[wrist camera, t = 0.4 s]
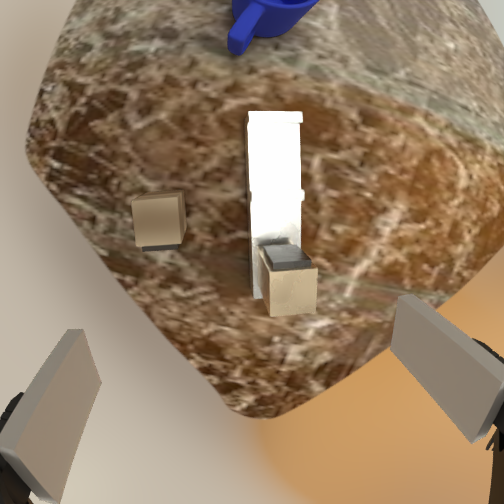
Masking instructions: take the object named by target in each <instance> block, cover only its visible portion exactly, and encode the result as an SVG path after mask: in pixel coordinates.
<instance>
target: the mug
mask: <svg viewBox="0 0 504 504" xmlns="http://www.w3.org/2000/svg"><path fill="white" fill-rule="evenodd" d="M318 1H319V0H232V11H233V16H234V18H235V20H236V22H235V24H234V25H233V27H232V28H231V30H230V31H229V33H228V50H229V51H230V52H231V53H233V54H235V55H238V56H240V55H242V54H243V53H244V51H245V50H246V48H247V47H248V45H249V43H250V42H251V40H252V38H253V36H254V35H255V36H259V37H275V36H278V35H281V34H283V33H285V32H287V31H288V30H289V29H291V28H292V27H293V26H294V25H295V24H296V23H297V22H298V21H299V20H300V19H301V18H302V17H303V16H304V15H305V14H306V13H307V12H308V11H309V10H310V9H311V8H312V7H313V6H314V5H315V4H316V3H317V2H318Z"/></svg>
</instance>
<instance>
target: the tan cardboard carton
mask: <svg viewBox="0 0 504 504" xmlns="http://www.w3.org/2000/svg"><path fill="white" fill-rule="evenodd" d="M131 204H132V214H133V224H134V232H135V241H136V247H142V251H143V252H145V251H159V250H173V249H178V247H179V244H181V243H182V240H183V237H184V234H185V231H186V228H187V222H186V208H185V193H184V189H181V190H169V191H157V192H147V193H145V194H143V195H141V196H139V197H138V198H136V199H134V200H132V201H131Z"/></svg>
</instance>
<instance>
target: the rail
mask: <svg viewBox="0 0 504 504" xmlns="http://www.w3.org/2000/svg"><path fill="white" fill-rule="evenodd" d="M302 122H303V118H302V112H283V111H249V112H248V113H247V117H246V118H245V119H244V129H245V158H246V186H247V214H248V241H249V268H250V289H251V292H252V295H253V298H254V299H259V298H263V300H264V302H265V305H266V308H267V310H268V313H269V315H270V317H275V316H285V315H294V314H303V313H312V312H316V298H317V276H318V268H317V267H316V266H315V265H314V264H313V263H312V262H311V259H310V258H309V257H308V256H307V255H306V254H305V253H304V252H303V251H302V250H301V201H304V190H302V189H301V174H300V132H299V123H302Z"/></svg>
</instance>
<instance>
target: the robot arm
mask: <svg viewBox="0 0 504 504" xmlns="http://www.w3.org/2000/svg"><path fill="white" fill-rule="evenodd" d="M390 350H391V351H392V352H393V353H394V354H395V356H396V357H397V358H398V359H399V360H400V361H401V362H402V364H403V365H404V366H405V367H406V368H407V369H408V370H409V371H410V373H411V374H412V375H413V376H414V377H415V378H416V379H417V380H418V382H419V383H420V384H421V385H422V386H423V387H424V389H425V390H426V391H427V392H428V393H429V394H430V396H431V397H432V398H433V399H434V400H435V401H436V403H437V404H438V405H439V406H440V407H441V408H442V410H443V411H444V412H445V413H446V414H447V415H448V417H449V418H450V419H451V420H452V421H453V423H454V424H455V425H456V426H457V427H458V429H459V430H460V431H461V432H462V433H463V434H464V436H465V437H466V438H467V439H468V441H469V442H470V443H471V444H473V443H474V442H476V441H478V440H480V439H481V438H483V437H485V436H486V435H487V433H488V431H489V430H490V428H491V426H492V424H494V425H495V426H496V427H497V429H496V431H495V433H494V434H493V436H492V438H491V440H490V441H489V443H488V445H487V447H486V450H489V448H490V446H491V445H492V443H494V447H493V449H492V451H493V467H492V479H491V488H490V496H489V504H504V358H502V357H501V356H500V357H499V355H498V354H497V353H496V352H495V351H492V349H491V348H490V347H488V346H487V345H486V344H485V343H482V342H481V341H478V340H476V339H473V338H470V337H469V336H468V335H467V334H465V333H464V332H463V331H461V330H460V329H459V328H457V327H456V326H455V325H454V324H452V323H451V322H450V321H448V320H447V319H446V318H444V317H443V316H442V315H440V314H439V313H438V312H436V311H435V310H434V309H432V308H431V307H430V306H428V305H427V304H426V303H424V302H423V301H421V300H420V299H419V298H417V297H416V296H415V295H413V294H408V295H403V296H398V302H397V310H396V317H395V323H394V330H393V336H392V342H391V347H390ZM101 383H102V382H101V380H100V377H99V374H98V372H97V369H96V366H95V363H94V360H93V357H92V355H91V352H90V349H89V346H88V343H87V339H86V336H85V333H84V330H83V329H69V330H67V331H66V333H65V334H64V335H63V337H62V338H61V340H60V341H59V342H58V344H57V345H56V347H55V348H54V350H53V351H52V352H51V354H50V355H49V357H48V358H47V360H46V361H45V363H44V364H43V365H42V367H41V368H40V370H39V372H38V373H37V374H36V376H35V377H34V379H33V381H32V382H31V384H30V385H29V387H28V388H27V390H26V392H25V393H23V392H20V393H19V394H18V395H17V396H16V397H14V398H13V399H12V400H11V401H10V403H9V404H8V406H7V407H6V409H5V412H3V414H2V415H1V417H0V504H33V503H32V501H31V500H30V499H29V495H30V492H31V491H32V492H33V493H34V494H35V495H36V496H37V497H38V498H39V499H40V500H42V501H45V502H49V503H53V504H60V501H61V498H62V495H63V491H64V488H65V485H66V481H67V478H68V474H69V472H70V469H71V465H72V462H73V459H74V456H75V453H76V450H77V447H78V444H79V442H80V439H81V436H82V433H83V430H84V427H85V425H86V422H87V419H88V417H89V414H90V411H91V409H92V406H93V403H94V401H95V398H96V396H97V393H98V391H99V388H100V386H101Z"/></svg>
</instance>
